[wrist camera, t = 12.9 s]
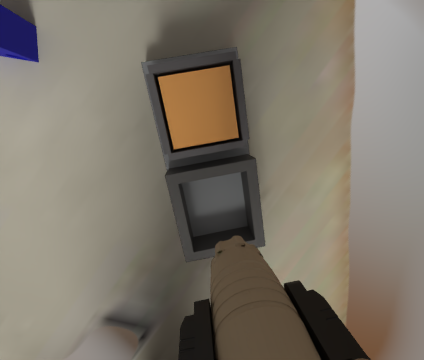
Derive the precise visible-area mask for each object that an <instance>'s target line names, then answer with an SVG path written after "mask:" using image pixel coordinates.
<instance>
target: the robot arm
mask: <svg viewBox="0 0 424 360" xmlns="http://www.w3.org/2000/svg"><path fill="white" fill-rule="evenodd" d="M284 290H285V291H286V293H287V295H288V296H289V298H290V300H291V302H292V303H293V306H294V307H295V309H296V310H297V312H298V314H299V316H300V318H301V320H302V322H303V323H304V325H305V327H306V329H307V331H308V333H309V335H310V337H311V339H312V341H313V343H314V346H315V348H316V350H317V352H318V354H319V356H320V358H321V360H370V358H369V357H368V356H367V355H366V353H365V352H364V351H363V349H362V348H361V347H360V345H359V344H358V343H357V341H356V340H355V339H354V338H353V336H352V335H351V333H350V332H349V331H348V329H347V328H346V327H345V325H344V324H343V323H342V321H341V320H340V319H339V318H338V316H337V315H336V313H335V312H334V311H333V310H332V308H331V306H330V305H329V304H328V302H327V301H326V300H325V298H324V297H323V296H321V295H320V294H318V293H317V292H316V291H314V290H309V291H307V290H306V289H305V287H304V286H303V285H302V283H301V282H300V281H299V280H298V281H293V282H288V283H284ZM179 360H216V359H215V351H214V340H213V328H212V316H211V306H210V302H209V299H206V300H201V301H196V302H194V315H190V316H185V318H184V320H183V323H182V325H181V327H180V343H179Z"/></svg>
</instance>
